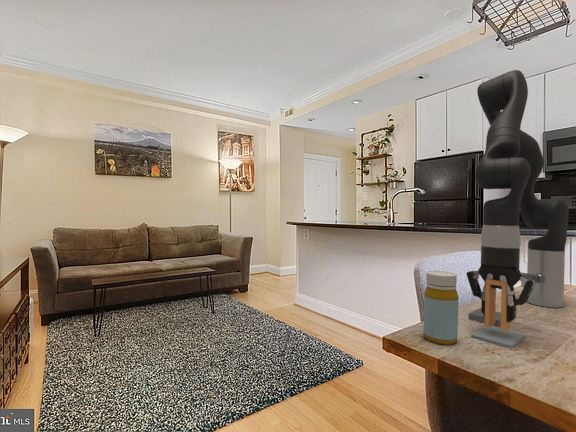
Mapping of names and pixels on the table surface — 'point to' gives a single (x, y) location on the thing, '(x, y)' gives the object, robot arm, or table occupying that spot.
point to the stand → (480, 317)
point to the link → (491, 304)
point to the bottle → (441, 308)
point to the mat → (498, 336)
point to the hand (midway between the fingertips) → (498, 318)
